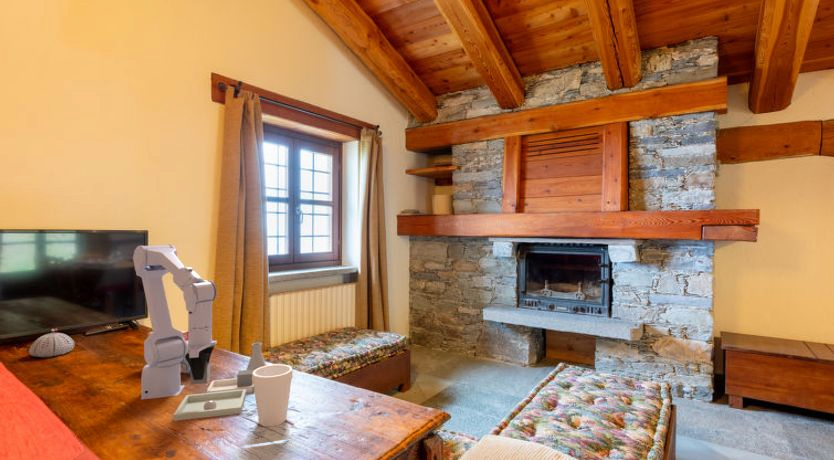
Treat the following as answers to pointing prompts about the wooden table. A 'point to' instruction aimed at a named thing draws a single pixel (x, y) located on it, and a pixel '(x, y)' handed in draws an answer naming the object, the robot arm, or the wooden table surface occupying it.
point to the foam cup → (272, 393)
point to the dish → (227, 386)
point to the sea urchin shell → (51, 345)
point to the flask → (256, 357)
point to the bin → (224, 406)
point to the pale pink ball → (210, 405)
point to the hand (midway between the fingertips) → (200, 376)
